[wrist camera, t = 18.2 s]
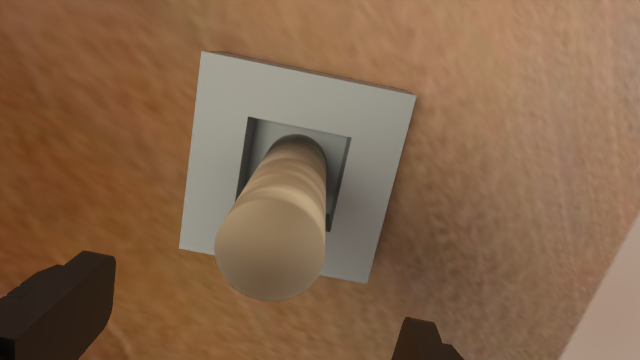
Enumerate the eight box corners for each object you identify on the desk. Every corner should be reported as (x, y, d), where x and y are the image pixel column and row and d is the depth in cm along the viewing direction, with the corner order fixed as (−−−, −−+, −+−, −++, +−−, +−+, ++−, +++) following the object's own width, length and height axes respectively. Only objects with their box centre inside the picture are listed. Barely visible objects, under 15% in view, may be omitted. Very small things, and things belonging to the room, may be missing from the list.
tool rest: (404, 89, 27) (416, 95, 23) (362, 255, 31) (366, 284, 27) (219, 51, 27) (201, 51, 23) (198, 223, 30) (178, 248, 26)
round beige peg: (332, 140, 27) (335, 212, 15) (319, 198, 28) (312, 310, 16) (271, 128, 27) (222, 190, 15) (261, 186, 28) (207, 290, 16)
